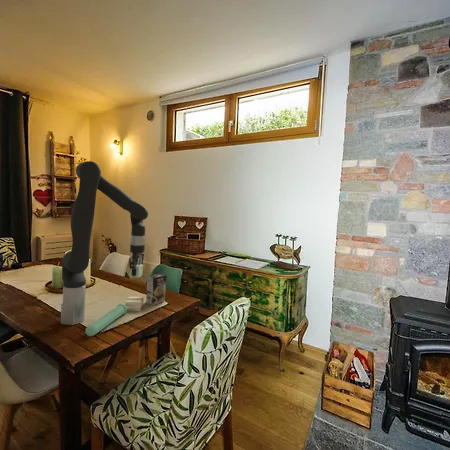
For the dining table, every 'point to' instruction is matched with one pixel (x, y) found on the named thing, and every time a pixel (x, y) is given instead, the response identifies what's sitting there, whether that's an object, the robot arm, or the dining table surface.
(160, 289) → the coffee box
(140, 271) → the sage block
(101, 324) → the container
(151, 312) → the dining table surface
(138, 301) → the birch base
